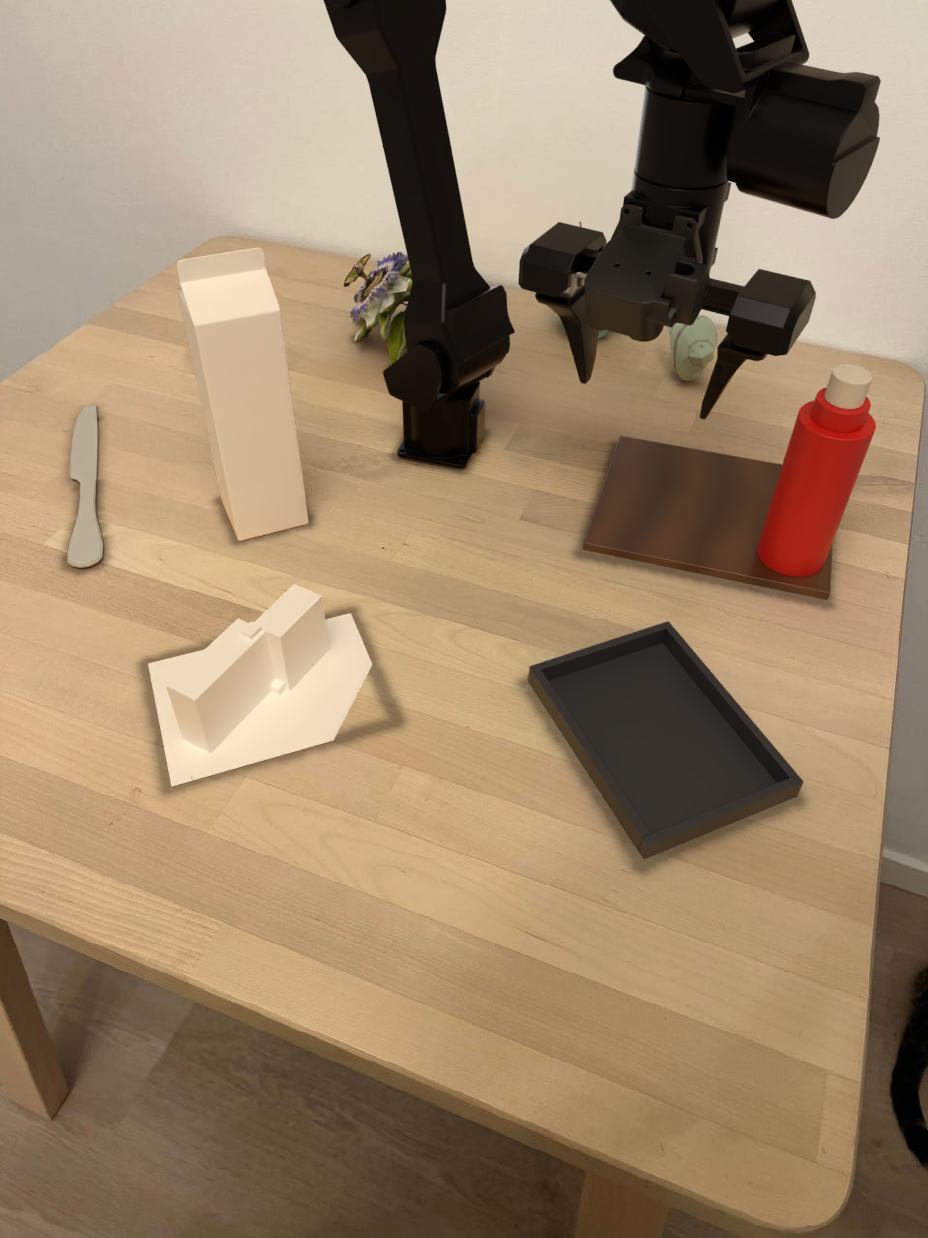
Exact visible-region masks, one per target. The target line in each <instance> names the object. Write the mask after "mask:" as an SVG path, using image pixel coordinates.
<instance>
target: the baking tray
mask: <svg viewBox="0 0 928 1238" xmlns="http://www.w3.org/2000/svg"><path fill="white" fill-rule="evenodd" d="M527 682H528V684H529V685H530V687H531V689H532V690H533V691H534V693H535V694H536V696H537V697H538V699H539V700H540V702H541V704H542V705H543V707H544V708H545V711H546V712H547V713H548V715H549V716H550V718H551V719H552V721H553V722H554V724H555V725H556V727H557V728H558V730H559V731H560V733H561V734H562V736H563V738H564V739H565V740H566V742H567V744H568V746H569V747H570V748H571V750H572V751H573V753H574V755H575V756H576V757H577V759H578V761H579V762H580V764H581V765H582V767H583V768H584V770H585V771H586V773H587V774H588V776H589V778H590V779H591V781H592V782H593V784H594V785H595V787H596V788H597V790H598V791H599V793H600V794H601V796H602V797H603V799H604V801H605V802H606V804H607V805H608V806H609V808H610V810H611V811H612V813H613V814H614V816H615V817H616V819H617V821H618V822H619V824H620V825H621V827H622V828H623V829H624V831H625V833H626V834H627V836H628V838H629V839H630V840H631V842H632V844H633V845H634V847H635V848H636V850H637V851H638V853H639V854H640V856H641V857H642V859H643V860H646V859H648V858H651V857H653V856H655V855H658V854H661V853H663V852H666V851H668V850H670V849H672V848H675V847H677V846H680V845H682V844H684V843H687V842H690V841H693V840H694V839H697V838H699V837H702V836H704V835H706V834H709V833H711V832H714V831H717V830H719V829H721V828H724V827H726V826H728V825H731V824H733V823H736V822H738V821H741V820H743V819H746V818H748V817H750V816H753V815H756V814H758V813H761V812H763V811H766V810H768V809H770V808H772V807H775V806H777V805H780V804H782V803H785V802H787V801H790V800H792V799H794V798H797V797H798V795H799V793H800V791H801V789H802V787H803V785H804V780H803V779H802V778H801V776H800V775H799V774H798V773H797V772H796V771H795V769H794V768H793V767H792V766H791V764H790V763H789V762H788V761H787V760H786V758H785V757H784V756H783V755H782V754H781V752H779V750H778V749H777V748H776V747H775V746H774V745H773V743H772V742H771V740H769V738H768V737H767V736H766V735H765V733H763V731H762V730H761V728H759V726H758V725H757V724H756V723H755V721H754V720H752V718H751V717H750V716H749V715H748V714H747V712H746V711H745V710H744V709H743V708H742V706H741V705H740V704H739V703H738V702H737V700H735V698H734V697H733V695H731V694H730V692H729V691H728V690H727V688H726V687H725V686H724V685H723V684H722V683H721V682H720V680H719V679H718V677H716V675H714V673H713V672H712V671H711V670H710V669H709V667H708V666H707V665H706V664H705V662H704V661H703V660H702V659H701V658H700V656H699V655H698V654H697V653H696V652H695V651H694V649H693V648H692V647H691V646H690V645H689V644H688V642H687V641H686V640H685V639H684V638H683V636H682V635H681V634H680V633H679V632H678V630H677V629H676V628H675V627H674V625H673V624H672V623H671V622H670V621H668V620H667V621H663V622H661V623H658V624H655V625H651V626H649V627H646V628H642V629H640V630H636V631H633V632H631V633H627V634H624V635H621V636H618V637H615V638H612V639H609V640H606V641H602V642H600V643H597V644H593V645H590V646H588V647H585V648H581V649H579V650H575V651H572V652H568V653H565V654H563V655H560V656H557V657H553V658H550V659H547V660H543V661H541V662H538V663H535V664H532V665H530V666H529V667H528V678H527Z"/></svg>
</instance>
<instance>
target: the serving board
mask: <svg viewBox="0 0 928 1238" xmlns="http://www.w3.org/2000/svg"><path fill="white" fill-rule="evenodd" d="M782 464H783V463H776V462H771V461H765V460H760V459H759V460H758V459H754V458H748V457H743V456H736V455H732V454H731V455H730V454H725V453H720V452H715V451H709V450H703V449H697V448H691V447H687V446H682V445H675V444H670V443H665V442H659V441H653V440H648V439H642V438H636V437H630V436H625V435H619V436H618V440H617V442H616V446H615V448H614V452H613V455H612V457H611V461H610V463H609V466H608V469H607V472H606V475H605V478H604V481H603V483H602V487H601V490H600V493H599V496H598V499H597V502H596V505H595V507H594V511H593V513H592V516H591V519H590V523H589V526H588V528H587V531H586V535H585V536H584V540H583V544H582V551H586V552H590V553H591V552H592V553H595V554H600V555H606V556H611V557H616V558H620V559H626V560H629V561H635V562H639V563H644V564H649V565H654V566H660V567H663V568H669V569H674V570H679V571H683V572H688V573H692V574H693V573H694V574H698V575H703V576H707V577H712V578H718V579H722V580H727V581H732V582H737V583H740V584H741V583H742V584H746V585H751V586H755V587H762V588H766V589H769V590H776V591H780V592H785V593H789V594H795V595H800V596H805V597H810V598H814V599H819V600H824V601H828V600H829V597H830V596H831V586H832V585H831V581H832V559H833V544H832V545H831V548H830V550H829V553H828V555H827V558H826V561H825V563H824V566H823V568H822V569H821V570H820V571H819V572H817V573H816V574H814V575H811V576H806V577H791V576H786V575H783V574H780V573H777V572H775V571H773V570H771V569H770V568H768V567H767V566H766V565H764V563H763V562H762V561H761V560H760V558H759V557H758V554H757V545H758V542H759V539H760V536H761V532H762V529H763V526H764V523H765V519H766V516H767V513H768V510H769V506H770V503H771V500H772V497H773V493H774V490H775V487H776V484H777V480H778V477H779V474H780V471H781V467H782Z"/></svg>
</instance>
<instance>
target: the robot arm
mask: <svg viewBox="0 0 928 1238" xmlns="http://www.w3.org/2000/svg"><path fill="white" fill-rule="evenodd" d="M322 1H323V4H324V6H325V9H326V13H327V15H328V18H329V21H330V24H331V26H332V30H333V32H334V36H335V38H336V39H337V41H338V42H339V43H340V45H341V46H342V47H343V48H344V50H345V51H346V53H348V55H349V56H350V57H351V58H352V60H353V61H354V62H355V63H356V65H357V66H358V67H359V68H360V70H361V71H362V72H363V73H364V75H365V77H366V81H367V84H368V87H369V92H370V96H371V101H372V105H373V109H374V114H375V117H376V122H377V123H376V124H377V126H378V127H377V128H378V131H379V132H378V133H379V136H380V140H381V144H382V145H381V146H382V149H383V153H384V158H385V163H386V166H387V171H388V175H389V176H388V177H389V180H390V184H391V189H392V193H393V197H394V203H395V207H396V211H397V216H398V220H399V224H400V230H401V234H402V238H403V241H404V242H403V243H404V246H405V251H406V255H407V256H408V260H409V265H410V269H411V273H412V280H413V281H412V287H411V291H410V295H409V300H408V301H407V303H406V304H407V306H406V307H407V308H406V307H405V309H406V312H405V316H404V331H405V340H406V352H404V355H403V356H401V357H400V358H399V359H398V360H396V361H395V362H394V363H393V364H391V363H390V365H389V366H388V367H386V368H385V369H384V370H383V371H382V375H383V379H384V382H385V385H386V389H387V392H388V394H389V396H392V397H393V398H395V399H397V400H399V401H401V405H402V407H401V408H402V410H401V411H402V433H403V440H402V441H401V443H400V445H399V446H398V448H397V450H396V455H397V457H398V458H400V459H406V460H411V461H416V462H421V463H427V464H431V465H437V466H441V467H442V466H443V467H447V468H452V469H457V470H464V469H466V468H467V466H468V465H469V463H470V461H471V459H472V457H473V455H475V454H476V453H478V451H479V449H480V448H481V445H482V444H483V442H484V439H485V428H486V427H485V425H486V423H485V422H486V401H485V400H484V399H483V398H480V397H481V391H480V390H481V381H483V380H485V379H486V378H487V379H488V378H489V377H492V376H493V373H494V372H495V369H496V367H497V366H499V365H501V363H502V362H503V361H504V360H505V358H506V356H507V355H508V354H509V353H510V348H511V337H510V336H512V335H514V334H515V332H516V331H515V328H514V326H513V324H512V322H511V318H510V315H509V310H508V293H507V291H506V289H505V287H504V285H502V284H498V285H493V286H492V285H491V284H489V282H488V281H487V280H486V279H485V278H484V277H483V275H482V274H481V273H480V272H479V270H478V269H477V268H476V266H475V263H474V260H473V259H474V258H473V255H472V249H471V245H470V239H469V234H468V228H467V223H466V217H465V213H464V207H463V201H462V197H461V191H460V185H459V179H458V176H457V169H456V165H455V160H454V154H453V149H452V144H451V139H450V132H449V129H448V128H449V127H448V123H447V117H446V112H445V106H444V101H443V96H442V91H441V86H440V79H439V75H438V70H437V61H436V59H437V53H438V49H439V44H440V40H441V36H442V31H443V27H444V23H445V18H446V15H447V0H322ZM609 2H610V3H611V5H612V6H613V8H614V9H615V11H616V12H617V15H618V16H619V17H620V18H621V19H622V21H624V22H625V23H627V24H628V25H629V26H631V27H632V28H633V29H635V30H636V31H638V32H639V33H641V34H642V35H643V37H642V38H641V40H640V41H639V43H638V44H637V45H636V47H635V48H634V49H633V50H632V51H631V52H630V53H629V54H627V55H626V56H625V57H624V58H623V59H622V60H620V61H619V62H617V63H616V64H614V65H613V68H612V74H613V75H612V76H613V77H614V78H615V79H617V80H622V81H624V82H625V81H626V82H630V83H634V84H639V85H642V86H643V87H644V93H643V101H642V110H641V116H640V124H639V130H638V137H637V145H636V152H635V153H636V154H635V160H634V168H633V175H632V182H631V190H630V192H628V193H627V194H626V195H624V196H623V202H622V206H621V208H620V213H619V220H618V223H617V225H616V227H615V228H614V231H613V233H612V235H611V237H610V240H608V241H607V238H606V235H605V234H604V232H603V231H599V230H595V229H590V228H587V227H583V226H582V227H580V225H579V226H578V225H574V224H569V223H565V222H562V221H558V222H556V223H555V224H554V225H553V226H551V228H549V229H548V230H546V231H545V232H544V233H542V234H541V235H539V237H538V238H536V239H535V240H534V241H532V242H531V243H530V244H529V245H527V246H526V247H524V249H523V251H522V254H521V256H520V259H519V266H518V281H517V282H518V283H517V285H518V286H519V287H520V288H521V290H525V291H528V292H531V293H535V294H534V298H535V300H536V302H537V303H539V304H541V305H545V306H547V307H548V308H549V309H551V311H553V312H554V313H555V314H556V315H557V316H558V317H559V319H560V321H561V324H562V327H563V326H564V329H565V331H566V332H565V331H564V332H565V334H566V337H567V341H568V343H569V347H570V351H571V355H572V358H573V362H574V365H575V369H576V372H577V376H578V379H579V382H580V384H583V385H586V384H587V383H589V381H590V380H591V378H592V376H593V375H592V374H593V371H594V368H595V362H596V358H597V351H598V342H599V338H598V336H599V331H603V330H608V331H609V332H611V333H616V334H619V335H623V336H627V337H629V338H630V339H631V340H633V341H636V342H641V343H644V342H645V343H647V342H651V341H654V340H656V339H657V338H658V337H659V336H660V335H661V334H662V332H663V330H664V327H667V328H668V327H671V328H672V327H673V325H674V324H675V323H681V324H685V325H689V326H691V325H692V324H694V322H695V320H696V318H697V316H698V315H699V314H701V311H702V310H703V311H706V312H710V313H715V314H718V315H719V314H720V315H723V316H726V317H728V319H727V323H726V328H725V332H726V335H725V336H724V338H723V339H722V340H721V341H720V343H719V344H718V345H717V346H716V349H717V351H716V353H717V354H716V361H715V363H714V366H713V369H712V373H711V375H710V378H709V381H708V383H707V387H706V389H705V392H704V396H703V399H702V401H701V406H700V413H699V419H700V420H704V421H705V420H706V419H707V417H708V416H709V415H710V414H711V412H712V410H713V409H714V407H715V405H716V404H717V402H718V400H719V399H720V397H721V396H722V394H723V393H724V391H725V390H726V388H727V387H728V385H729V384H730V382H731V381H732V379H733V377H734V376H735V374H736V373H737V371H738V369H740V367H742V365H744V363H745V362H746V361H747V360H749V361H752V362H760V361H763V360H765V359H766V358H767V357H768V355H769V356H772V357H779V356H787V355H788V354H789V352H790V350H791V349H792V348H793V346H794V344H795V343H796V342H797V340H798V339H799V337H800V336H801V334H802V332H803V331H804V329H805V328H806V326H807V325H808V324H809V322H810V320H811V316H812V312H813V309H814V306H815V302H816V299H817V292H816V289H815V288H814V285H813V283H812V281H811V280H809V279H805V278H800V277H796V276H793V275H787V274H784V273H783V274H782V273H778V272H774V271H770V270H766V269H763V268H758V269H757V270H756V271H755V273H754V274H753V275H752V276H751V277H750V279H749V280H748V281H747V282H746V284H745V285H741V284H736V283H732V282H729V281H724V280H720V279H715V278H712V277H710V275H711V269H712V267H713V266H714V265H715V263H716V260H717V255H718V251H719V248H718V247H716V246H717V240H718V235H719V230H720V226H721V220H722V215H723V210H724V206H725V203H726V202H727V201H728V200H729V197H730V193H731V187H732V183H734V184H735V186H736V189H737V191H739V192H740V193H742V194H744V195H748V196H751V197H755V198H759V199H762V200H764V201H769V202H772V203H775V204H779V205H782V206H786V207H789V208H793V209H796V210H800V211H804V212H807V213H810V214H812V215H813V214H814V215H817V216H819V217H820V216H821V217H824V218H828V219H830V220H834V219H835V220H836V219H838V218H840V217H841V216H842V215H843V214H845V212H846V211H847V210H848V209H849V208H850V206H851V205H852V204H853V203H854V201H855V199H856V198H857V197H858V194H859V193H860V192H861V189H862V187H863V186H864V183H865V182H866V179H867V178H868V175H869V172H870V170H871V168H872V166H873V163H874V160H875V158H876V154H877V153H878V152H877V151H878V148H879V144H880V141H881V137H880V136H878V133H879V127H880V116H881V115H880V107H879V106H878V104H877V103H876V99H877V97H878V94H879V93H878V92H879V89H880V86H881V82H882V81H881V78H880V77H879V75H875V74H871V73H866V72H859V71H852V72H839V71H835V70H829V69H824V68H819V67H815V66H810V65H806V63H807V62H808V60H809V59H810V51H809V49H808V45H807V42H806V39H805V37H804V33H803V30H802V27H801V23H800V21H799V18H798V14H797V11H796V8H795V6H794V3H793V0H609ZM746 34H747V35H748V36H749V37H750V38H751V40H752V41H751V42H749V43H746V44H743V45H741V46H739V47H736V45H735V42H734V39H736V38H738V37H741V36H743V35H746ZM564 329H563V330H564ZM608 331H607V332H608Z"/></svg>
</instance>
